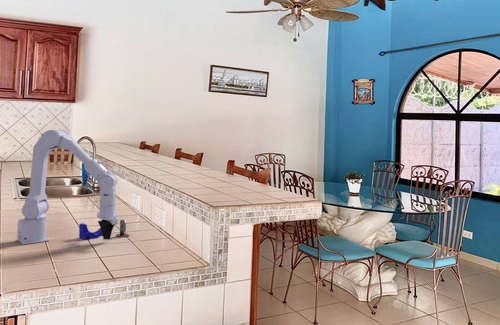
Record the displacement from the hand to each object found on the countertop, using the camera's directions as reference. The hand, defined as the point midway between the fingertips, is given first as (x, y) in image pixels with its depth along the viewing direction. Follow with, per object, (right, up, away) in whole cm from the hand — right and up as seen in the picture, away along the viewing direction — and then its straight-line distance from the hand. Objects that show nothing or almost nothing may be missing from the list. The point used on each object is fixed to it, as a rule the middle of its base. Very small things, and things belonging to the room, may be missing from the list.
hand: (106, 238), depth 156 cm
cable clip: (-7, -1, +7) cm, 10 cm away
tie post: (+3, -1, +10) cm, 10 cm away
